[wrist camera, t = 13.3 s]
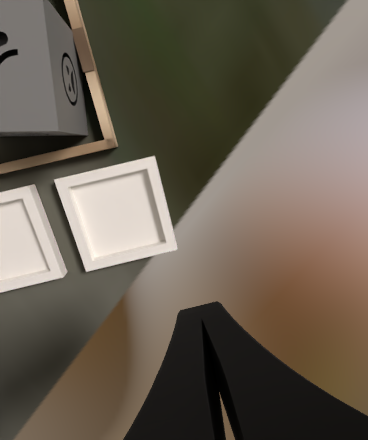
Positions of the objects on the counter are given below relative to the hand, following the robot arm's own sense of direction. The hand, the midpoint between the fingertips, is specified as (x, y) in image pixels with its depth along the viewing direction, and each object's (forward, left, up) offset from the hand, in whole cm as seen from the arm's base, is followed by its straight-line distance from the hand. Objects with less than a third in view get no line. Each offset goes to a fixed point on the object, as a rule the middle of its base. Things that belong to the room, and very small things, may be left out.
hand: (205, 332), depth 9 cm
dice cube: (+11, +6, -10) cm, 16 cm away
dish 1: (+3, +11, -10) cm, 15 cm away
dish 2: (+3, +4, -10) cm, 11 cm away
